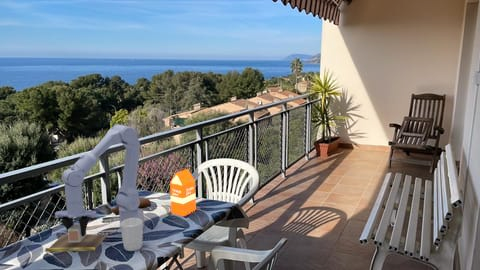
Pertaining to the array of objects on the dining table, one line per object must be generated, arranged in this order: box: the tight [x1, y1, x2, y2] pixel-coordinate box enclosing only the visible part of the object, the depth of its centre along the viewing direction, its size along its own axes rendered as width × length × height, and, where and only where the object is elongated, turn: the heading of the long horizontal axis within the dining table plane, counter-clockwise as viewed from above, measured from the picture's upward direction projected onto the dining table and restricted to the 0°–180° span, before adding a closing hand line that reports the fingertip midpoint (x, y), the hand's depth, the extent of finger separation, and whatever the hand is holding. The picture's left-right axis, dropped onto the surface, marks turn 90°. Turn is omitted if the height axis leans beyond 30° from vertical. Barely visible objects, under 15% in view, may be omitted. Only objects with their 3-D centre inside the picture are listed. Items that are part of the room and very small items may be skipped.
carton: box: [67, 222, 87, 242], centre depth 140 cm, size 4×6×5 cm, turn 0°
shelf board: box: [44, 233, 108, 253], centre depth 143 cm, size 18×14×2 cm
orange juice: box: [169, 168, 197, 217], centre depth 173 cm, size 8×9×20 cm
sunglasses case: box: [109, 198, 152, 216], centre depth 179 cm, size 18×7×7 cm, turn 132°
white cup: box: [121, 218, 144, 252], centre depth 139 cm, size 8×8×10 cm
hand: (77, 235), depth 140 cm, fingers closed on carton, 4 cm apart
